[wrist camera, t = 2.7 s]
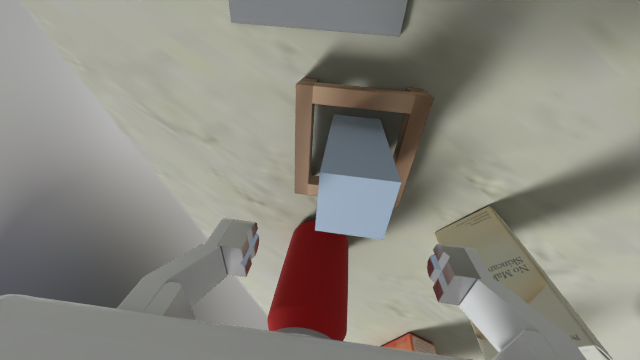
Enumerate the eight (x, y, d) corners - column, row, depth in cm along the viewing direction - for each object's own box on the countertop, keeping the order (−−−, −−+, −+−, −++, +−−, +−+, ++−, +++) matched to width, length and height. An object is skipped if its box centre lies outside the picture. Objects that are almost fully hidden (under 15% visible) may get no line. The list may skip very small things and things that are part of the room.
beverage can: (299, 255, 30) (273, 365, 20) (288, 216, 27) (249, 326, 17) (351, 254, 29) (350, 372, 19) (345, 214, 25) (341, 330, 15)
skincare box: (489, 203, 23) (602, 342, 12) (510, 228, 24) (629, 373, 14) (431, 233, 25) (484, 365, 15) (453, 254, 27) (516, 389, 17)
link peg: (380, 119, 19) (401, 182, 11) (371, 160, 22) (383, 239, 13) (333, 114, 20) (319, 172, 11) (329, 155, 22) (314, 230, 13)
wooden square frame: (422, 89, 18) (433, 97, 15) (392, 187, 23) (397, 206, 20) (303, 77, 18) (296, 84, 16) (300, 176, 23) (294, 193, 21)
